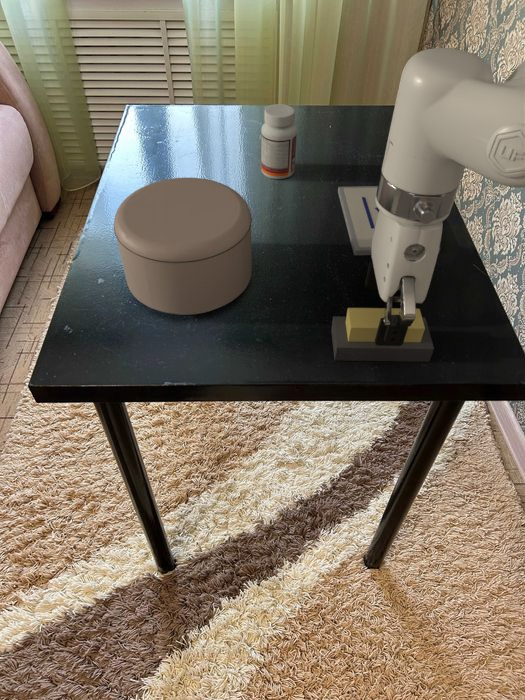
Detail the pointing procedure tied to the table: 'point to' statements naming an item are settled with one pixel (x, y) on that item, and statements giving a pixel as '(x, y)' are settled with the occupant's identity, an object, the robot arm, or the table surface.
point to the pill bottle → (278, 141)
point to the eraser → (360, 331)
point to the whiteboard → (360, 216)
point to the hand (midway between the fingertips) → (382, 314)
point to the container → (185, 244)
